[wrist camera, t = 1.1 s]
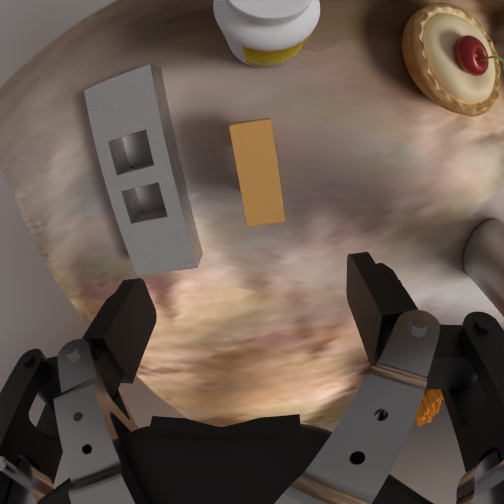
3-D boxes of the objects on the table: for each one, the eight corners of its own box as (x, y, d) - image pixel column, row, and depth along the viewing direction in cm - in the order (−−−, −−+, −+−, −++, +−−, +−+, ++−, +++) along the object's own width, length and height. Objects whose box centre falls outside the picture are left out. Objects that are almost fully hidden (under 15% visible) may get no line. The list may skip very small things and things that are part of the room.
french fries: (411, 371, 42) (432, 426, 31) (391, 376, 42) (411, 432, 32) (425, 338, 38) (455, 396, 27) (404, 342, 38) (432, 404, 28)
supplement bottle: (315, 42, 21) (360, -3, 9) (262, 83, 23) (267, 60, 12) (265, -4, 19) (270, -73, 7) (212, 37, 21) (176, -14, 9)
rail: (160, 68, 22) (150, 64, 19) (202, 253, 31) (197, 267, 29) (99, 90, 23) (83, 90, 20) (145, 261, 32) (136, 275, 29)
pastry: (383, 3, 18) (421, -26, 10) (469, 27, 17) (516, 16, 9) (398, 107, 23) (446, 109, 15) (480, 119, 22) (532, 130, 14)
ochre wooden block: (267, 116, 24) (270, 119, 19) (279, 197, 28) (285, 221, 23) (235, 121, 25) (228, 125, 19) (249, 201, 28) (247, 226, 23)
